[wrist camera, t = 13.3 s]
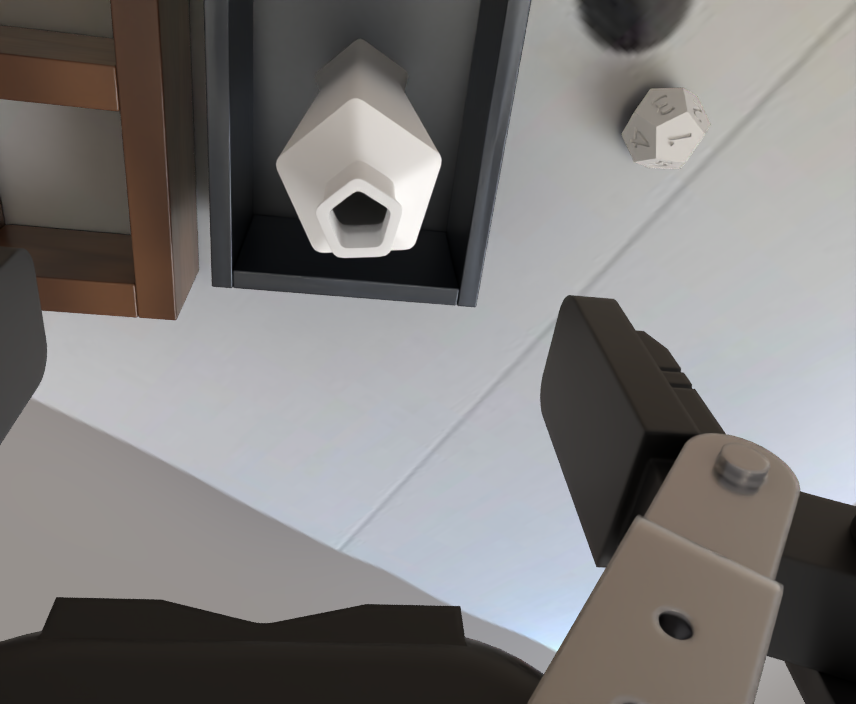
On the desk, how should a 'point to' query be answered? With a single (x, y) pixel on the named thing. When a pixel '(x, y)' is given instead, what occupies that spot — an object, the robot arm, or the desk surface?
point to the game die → (666, 128)
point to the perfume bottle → (360, 159)
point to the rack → (143, 154)
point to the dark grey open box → (292, 97)
